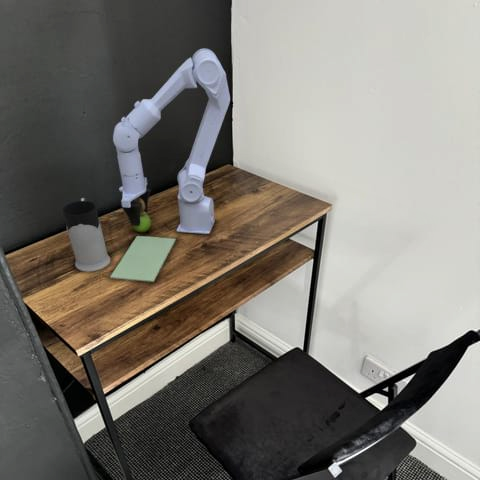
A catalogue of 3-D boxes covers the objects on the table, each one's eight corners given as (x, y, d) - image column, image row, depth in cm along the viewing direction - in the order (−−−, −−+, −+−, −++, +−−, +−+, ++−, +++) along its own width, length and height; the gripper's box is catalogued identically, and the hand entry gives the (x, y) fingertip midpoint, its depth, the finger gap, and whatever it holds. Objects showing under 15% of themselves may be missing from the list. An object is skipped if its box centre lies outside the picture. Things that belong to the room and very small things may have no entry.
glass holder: (74, 273, 114) (57, 218, 104) (78, 244, 125) (63, 191, 115) (110, 269, 115) (97, 214, 106) (110, 240, 126) (99, 188, 116)
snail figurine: (140, 223, 133) (133, 184, 125) (156, 230, 130) (150, 189, 122) (126, 231, 130) (118, 191, 122) (142, 238, 127) (135, 197, 119)
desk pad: (175, 239, 126) (175, 238, 126) (153, 282, 111) (153, 280, 111) (137, 237, 127) (137, 235, 127) (110, 278, 112) (109, 276, 112)
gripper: (126, 160, 125) (134, 206, 134) (106, 183, 114) (116, 231, 123) (151, 162, 124) (157, 208, 133) (133, 184, 113) (141, 233, 122)
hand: (139, 219), depth 128 cm, fingers open, 5 cm apart
